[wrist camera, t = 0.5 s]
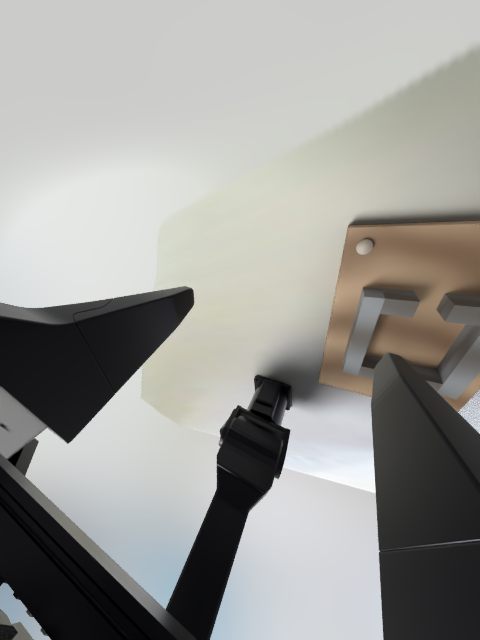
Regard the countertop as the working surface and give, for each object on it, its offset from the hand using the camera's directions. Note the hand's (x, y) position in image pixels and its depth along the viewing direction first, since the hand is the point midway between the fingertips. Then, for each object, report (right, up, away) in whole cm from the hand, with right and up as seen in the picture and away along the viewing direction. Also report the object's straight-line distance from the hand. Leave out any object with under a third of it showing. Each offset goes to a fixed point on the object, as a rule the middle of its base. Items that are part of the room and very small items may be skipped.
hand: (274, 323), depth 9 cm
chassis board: (+15, -1, +11) cm, 19 cm away
